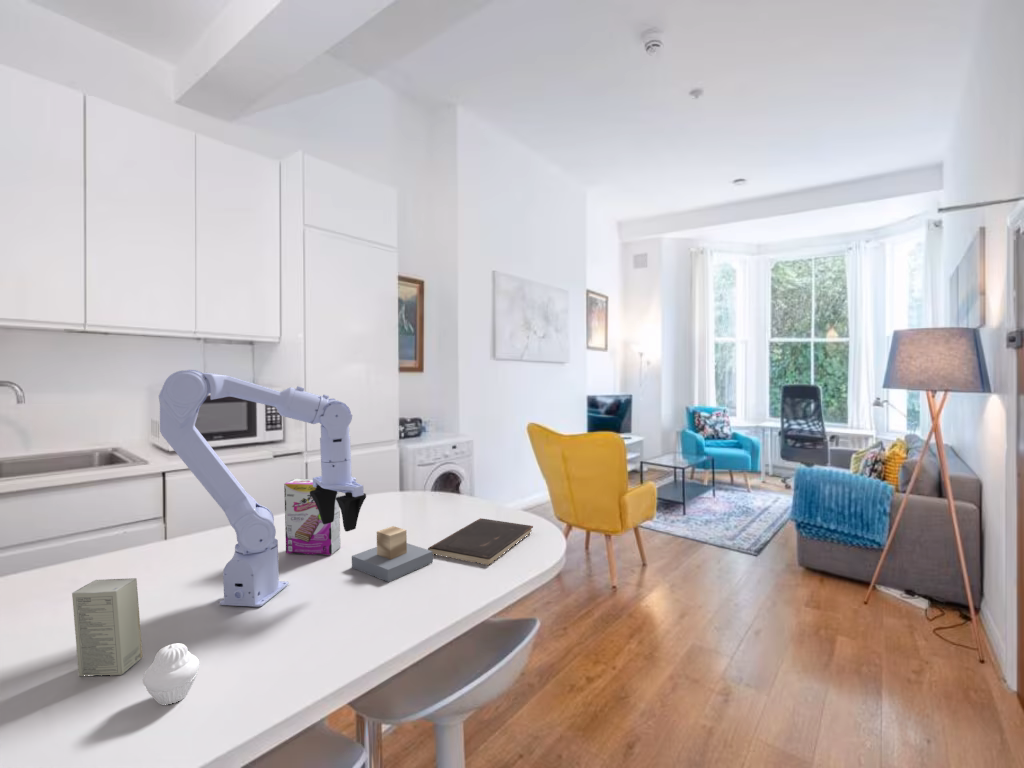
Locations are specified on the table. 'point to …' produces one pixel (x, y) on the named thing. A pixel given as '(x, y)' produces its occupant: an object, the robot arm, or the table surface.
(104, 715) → the table surface
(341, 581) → the table surface
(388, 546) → the oak block
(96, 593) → the skincare box
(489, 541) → the hardcover book
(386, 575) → the slate base
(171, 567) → the table surface
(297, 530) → the candy bar box
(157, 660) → the muffin
